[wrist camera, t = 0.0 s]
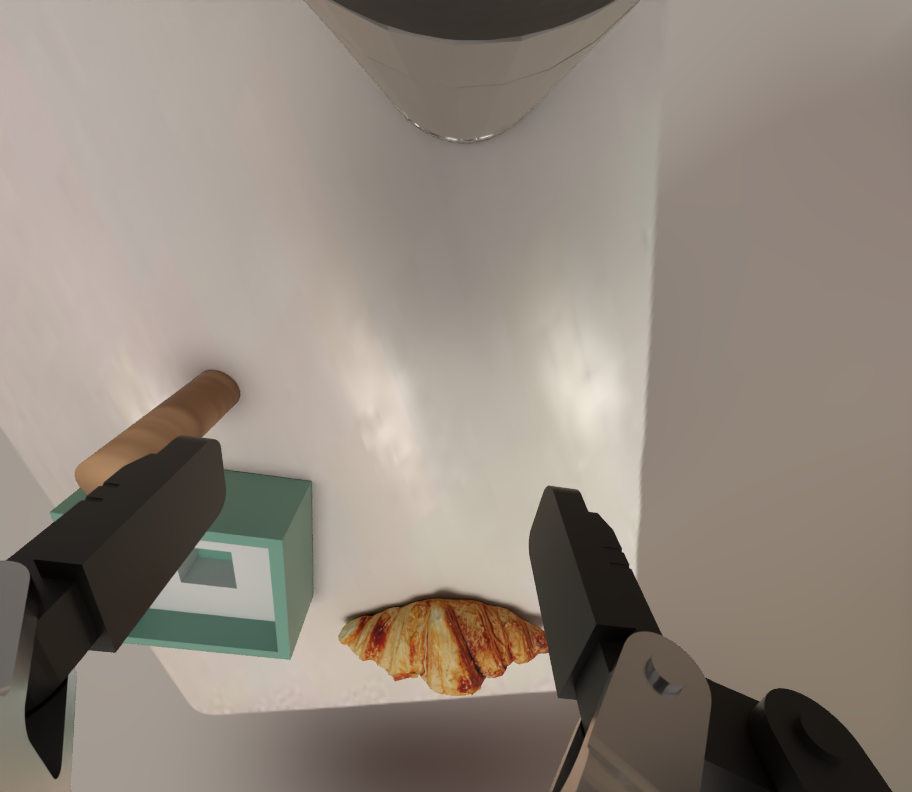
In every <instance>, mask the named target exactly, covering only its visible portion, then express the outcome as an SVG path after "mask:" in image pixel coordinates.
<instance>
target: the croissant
mask: <svg viewBox="0 0 912 792" xmlns="http://www.w3.org/2000/svg"><path fill="white" fill-rule="evenodd" d="M338 637H339V641H340V643H342V644H347V645H348V646H349V648H350V649H351V650H352V651H353V652H354V653H355V654H356V655H358V656H359V659H361V660H362V661H366V660H373V661H375V662H376V663H377V665H379V666H381V667H383V668H385V669H386V671H387V672H388V674H389V675H391V676H392V677H393V679H394V681H398V680H402V679H405V678H409V677H411V678H417V677H418V676H417V675H419V674H420V676H421V677H422V679H423V680H424V681H426V682H427V684H428V685H429V687H430V689H432V690H433V691H435V692H437V693H440V694H446V695H451V696H465V695H467V694H468V695H469V694H471V695H473V694H474V693H475V692H476V691H477V690H480V689H481V685H482V683H483V681H484V679H485V678H486V677H488V678H490V677H491V678H496V677H499V676H502V675H503V674H504V672H505V671H506V668H507V666H509V665H510V664H511V663H512V662H513V661H514V662H516V663H517V664H522V663H527V662H529V661H530V660H532V659H533V658H535V656H536V655H537V654H539V653H549V650H548V645H547V640H546V635H545V631H543V630H542V629H541V628H539V627H537V626H535V625H532V624H530V623H529V622H527V621H525V620H522V619H520V618H519V617H518V616H517V615H516V614H515V613H513V612H511V611H509V610H508V609H505V608H502V607H500V606H491V605H486V604H484V603H482V602H479V601H474V600H463V599H460V600H452V599H441V598H435V599H427V600H423V601H418V602H414V603H411V604H409V605H407V606H404V607H402V608H399V607H394V608H389V609H386V610H385V611H383V612H381V613H377V614H376V615H374V616H366V615H365V616H362V617H359V618H357V619H354V620H352V621H350V622H348V623H347V624H346V625H345V626H344V627H343V628H342V630H341V632H340V634H339V635H338Z"/></svg>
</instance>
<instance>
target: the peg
mask: <svg viewBox="0 0 912 792" xmlns="http://www.w3.org/2000/svg"><path fill="white" fill-rule="evenodd" d="M239 398H240V391H239V388H238V386H237V384H236V382H235V381H234V380H233V379H232V378H231V377H230V376H228V375H226V374H225V373H222V372H219V371H214V370H209V371H205V372H203V373H201V374H200V375H199V376H197V377H196V378H195V379H193V380H192V381H191V382H189V383H188V384H187V385H185V386H184V387H183V388H181V389H180V390H179V391H177V392H176V393H175V394H173V395H172V396H171V397H169V398H168V399H166V400H165V401H164V402H162V403H161V404H160V405H158V406H157V407H156V408H154V409H153V410H152V411H150V412H149V413H148V414H146V415H145V416H144V417H142V418H141V419H140V420H138V421H137V422H136V423H134V424H133V425H132V426H130V427H129V428H128V429H126V430H125V431H124V432H122V433H121V434H120V435H118V436H117V437H115V438H114V439H113V440H111V441H110V442H109V443H107V444H106V445H105V446H103V447H102V448H101V449H99V450H98V451H97V452H95V453H94V454H93V455H91V456H90V457H89V458H87V459H86V460H85V461H83V462H82V463H81V464H79V465H78V466H77V468H76V470H75V478H76V481H77V483H78V485H79V486H80V488H81V489H82V490H83V491H84V492H85V493H86V494H87V495H88V494H90V493H91V492H92V491H93V490H95V489H96V488H97V487H98V486H102V485H103V482H105V481H106V480H107V479H108V478H110V477H111V476H112V475H113V474H114V473H116V472H117V471H118V470H119V469H121V468H122V467H123V466H125V465H127V464H129V463H131V462H133V461H135V460H137V459H140V458H142V457H144V456H146V455H148V454H150V453H153V454H157V453H158V452H159V451H161V450H162V449H163V448H164V447H165V446H166V445H168V444H169V443H170V442H171V441H172V440H174V439H175V438H176V437H178V436H181V435H186V436H193V437H200V438H202V437H203V436H204V435H205V434H206V433H207V432H208V431H209V430H210V429H211V428H212V427H213V426H214V425H215V424H216V423H217V422H218V421H219V420H220V419H221V418H222V417H223V416H224V415H225V414H226V413H227V412H228V411H229V410H230V409H231V408H232V407H233V406H234V405H235V404H236V403H237V402H238V400H239Z"/></svg>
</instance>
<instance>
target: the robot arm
mask: <svg viewBox="0 0 912 792" xmlns="http://www.w3.org/2000/svg"><path fill="white" fill-rule="evenodd" d="M304 1H305V2H306V3H307V4H308V6H309V7H310V8H311V9H312V10H313V11H314V13H315V14H316V15H317V16H318V17H319V18H320V19H321V20H322V21H323V22H324V23H325V25H326V26H327V27H328V28H329V29H330V30H331V32H332V33H333V34H334V35H335V36H336V37H337V39H338V40H339V41H340V42H341V43H342V44H343V46H344V47H345V48H346V49H347V50H348V51H349V53H350V54H351V55H352V56H353V57H354V58H355V60H356V61H357V62H358V63H359V64H360V65H361V67H362V68H363V69H364V70H365V71H366V72H367V74H368V75H369V76H370V77H371V78H372V79H373V80H374V82H375V83H376V84H377V85H378V86H379V87H380V89H381V90H382V91H383V92H384V93H385V94H386V96H387V97H388V98H389V99H390V100H391V102H392V103H393V104H394V105H395V106H396V107H397V108H398V110H399V111H400V112H401V113H402V114H403V115H405V118H406V119H408V120H409V121H410V122H411V123H413V124H414V125H415V126H417V127H418V128H420V129H421V130H423V131H425V132H426V133H428V134H430V135H431V136H434V137H437V138H440V139H443V140H446V141H449V142H461V143H471V142H477V141H482V140H487V139H489V138H492V137H494V136H496V135H498V134H500V133H503V132H505V131H506V130H507V129H509V128H510V127H511V126H513V125H514V124H515V123H517V122H518V121H519V120H521V119H522V118H523V117H524V116H525V115H526V114H527V113H528V112H529V111H530V110H531V109H532V108H533V107H534V106H535V105H536V104H537V103H538V102H539V101H540V100H541V99H542V98H543V97H544V96H545V95H546V94H547V93H548V92H549V91H550V90H551V89H552V88H553V87H554V86H555V85H556V84H557V83H558V82H559V81H560V80H561V79H562V78H563V77H564V76H565V75H566V74H567V73H568V72H569V71H570V70H571V69H572V68H573V67H574V66H575V65H576V64H577V63H578V62H579V61H580V60H581V59H582V58H583V57H584V56H585V55H586V54H587V53H588V52H589V51H590V50H591V49H592V48H593V47H594V46H595V45H596V44H597V43H598V42H599V41H600V40H601V39H602V38H603V37H604V36H605V35H606V34H607V33H608V32H609V31H610V30H611V29H612V28H613V27H614V26H615V25H616V24H617V23H618V22H619V21H620V20H621V19H622V18H623V17H624V16H625V15H626V14H627V13H628V12H629V11H630V10H631V9H632V8H633V7H634V6H635V5H636V4H637V3H638V2H639V0H304ZM225 498H226V484H225V476H224V468H223V460H222V452H221V446H220V443H219V442H218V441H217V440H215V439H208V438H200V437H193V436H186V435H181V436H178V437H176V438H175V439H174V440H172V441H171V442H170V443H169V444H168V445H166V446H165V447H164V448H163V449H162V450H161V451H159V452H158V453H157V454H153V453H150V454H148V455H146V456H144V457H142V458H140V459H137V460H135V461H133V462H131V463H129V464H127V465H125V466H123V467H122V468H121V469H119V470H118V471H117V472H116V473H114V474H113V475H112V476H111V477H110V478H108V479H107V480H106V481H105V482H103V485H102V486H98V487H97V488H96V489H95V490H93V491H92V492H91V493H90V494H88V495H87V496H86V499H85V500H81V501H80V502H78V503H77V504H76V505H75V506H73V507H72V508H71V509H70V510H68V511H67V512H66V513H65V514H63V515H62V516H61V517H60V518H58V519H57V520H56V521H55V522H53V523H52V524H51V525H50V526H49V527H47V528H46V529H45V530H44V531H42V532H41V533H40V534H39V535H37V536H36V537H35V538H34V539H33V540H31V541H30V542H29V543H27V544H26V545H25V546H24V547H22V548H21V549H20V550H19V551H18V552H16V553H15V554H14V555H12V556H11V557H10V558H8V559H7V560H6V561H0V792H71V771H72V754H73V736H74V718H75V701H76V683H77V674H76V670H75V668H74V667H75V666H76V665H77V664H78V662H79V661H80V660H81V659H82V658H83V656H84V655H85V654H86V653H87V651H88V650H93V651H103V652H113V653H115V652H116V651H117V650H118V649H119V647H120V646H121V645H122V643H123V642H124V641H125V639H126V638H127V637H128V635H129V634H130V633H131V631H132V630H133V629H134V627H135V626H136V625H137V623H138V622H139V621H140V619H141V618H142V617H143V615H144V614H145V613H146V612H147V610H148V609H149V608H150V606H151V605H152V604H153V602H154V601H155V600H156V598H157V597H158V596H159V594H160V593H161V592H162V590H163V589H164V588H165V586H166V585H167V584H168V582H169V581H170V580H171V578H172V577H173V576H174V574H175V573H176V572H177V570H178V569H179V568H180V566H181V565H182V564H183V562H184V561H185V560H186V558H187V557H188V556H189V554H190V553H191V552H192V550H193V549H194V548H195V546H196V545H197V544H198V542H199V541H200V540H201V538H202V537H203V536H204V534H205V533H206V532H207V530H208V529H209V528H210V526H211V525H212V524H213V522H214V521H215V520H216V518H217V517H218V516H219V514H220V512H221V510H222V508H223V505H224V502H225ZM529 555H530V560H531V565H532V570H533V575H534V580H535V585H536V590H537V595H538V600H539V605H540V610H541V615H542V620H543V625H544V630H545V635H546V640H547V645H548V650H549V655H550V660H551V665H552V670H553V675H554V680H555V685H556V690H557V695H558V698H564V699H574V700H577V702H578V707H579V711H580V715H581V718H580V719H579V721H578V723H577V725H576V728H575V730H574V733H573V735H572V738H571V740H570V742H569V745H568V748H567V750H566V752H565V755H564V757H563V760H562V762H561V764H560V767H559V769H558V772H557V774H556V776H555V779H554V781H553V784H552V786H551V789H550V791H549V792H892V791H891V789H890V788H889V786H888V785H887V783H886V782H885V780H884V779H883V778H882V776H881V775H880V773H879V772H878V770H877V769H876V767H875V766H874V765H873V763H872V762H871V760H870V759H869V757H868V756H867V754H866V753H865V752H864V750H863V749H862V747H861V746H860V745H859V743H858V742H857V740H856V739H855V738H854V737H853V735H852V734H851V733H850V732H849V731H848V730H847V728H846V727H845V726H844V725H843V724H841V722H840V721H838V719H837V718H835V717H834V716H833V715H832V714H831V713H830V712H829V711H827V710H826V709H825V708H823V707H822V706H820V705H819V704H818V703H816V702H815V701H813V700H812V699H810V698H808V697H806V696H804V695H803V694H800V693H798V692H796V691H792V690H789V689H781V688H778V689H773V690H771V691H770V692H769V693H768V694H767V695H766V696H765V697H764V698H763V699H762V700H761V701H760V702H759V701H757V700H755V699H753V698H750V697H748V696H745V695H743V694H741V693H739V692H736V691H734V690H731V689H729V688H727V687H725V686H722V685H720V684H718V683H715V682H713V681H711V680H709V679H707V678H705V677H704V674H703V673H702V671H701V669H700V668H699V666H698V665H697V664H696V662H695V661H694V660H693V659H692V658H691V657H690V655H689V654H687V652H686V651H684V650H683V649H682V648H681V647H680V646H678V645H677V644H676V643H674V642H673V641H671V640H669V639H668V638H666V637H664V636H663V635H662V633H661V632H660V630H659V628H658V625H657V623H656V621H655V619H654V617H653V615H652V613H651V611H650V608H649V606H648V604H647V602H646V600H645V598H644V595H643V593H642V591H641V589H640V587H639V585H638V582H637V580H636V578H635V576H634V574H633V572H632V569H629V563H628V561H627V559H626V557H625V554H624V553H622V548H621V546H620V544H619V542H618V539H617V537H616V535H615V533H614V531H613V529H612V528H611V527H610V526H609V525H608V524H607V523H606V522H605V521H604V520H603V518H602V517H601V516H600V515H599V514H598V513H593V512H588V510H587V507H586V505H585V502H584V500H583V498H582V495H581V493H580V492H579V490H577V489H570V488H562V487H555V486H547V487H546V488H545V490H544V492H543V495H542V498H541V501H540V504H539V507H538V510H537V513H536V516H535V519H534V522H533V525H532V528H531V531H530V536H529Z"/></svg>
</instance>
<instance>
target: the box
mask: <svg viewBox="0 0 912 792" xmlns="http://www.w3.org/2000/svg"><path fill="white" fill-rule="evenodd" d="M224 476H225V484H226V498H225V502H224V505H223V508H222V510H221V512H220V514H219V516H218V517H217V518H216V520H215V521H214V522H213V524H212V525H211V526H210V528H209V529H208V530H207V532H206V533H205V534H204V536H203V537H202V538H201V540H200V541H199V542H198V544H197V545H196V546H195V548H194V549H193V550H192V552H191V553H190V554H189V556H188V557H187V558H186V560H185V561H184V562H183V564H182V565H181V566H180V568H179V569H178V570H177V572H176V573H175V574H174V576H173V577H172V578H171V580H170V581H169V582H168V584H167V585H166V586H165V588H164V589H163V590H162V592H161V593H160V594H159V596H158V597H157V598H156V600H155V601H154V602H153V604H152V605H151V606H150V608H149V609H148V610H147V612H146V613H145V614H144V615H143V617H142V618H141V619H140V621H139V622H138V623H137V625H136V626H135V627H134V629H133V630H132V631H131V633H130V634H129V635H128V637H127V638H126V639H125V641H124V642H123V643H127V644H137V645H147V646H157V647H167V648H177V649H187V650H197V651H207V652H217V653H227V654H237V655H247V656H257V657H267V658H277V659H287V660H290V659H291V657H292V654H293V651H294V648H295V645H296V643H297V640H298V637H299V634H300V631H301V628H302V626H303V623H304V620H305V617H306V614H307V612H308V609H309V606H310V603H311V600H312V597H313V549H312V482H311V481H305V480H297V479H289V478H282V477H274V476H267V475H259V474H251V473H244V472H236V471H229V470H224ZM86 496H87V494H86V493H85V492H84V491H83V490H82V489H81V488H79V489H78V490H77V491H76V492H74V493H73V494H72V495H71V496H69V497H68V498H67V499H66V500H64V501H63V502H62V503H61V504H59V505H58V506H57V507H56V508H55V509H53V510H52V511H51V512H50V514H51V516H52V518H53V521H54V522H55V521H56V520H57V519H58V518H60V517H61V516H62V515H63V514H65V513H66V512H67V511H68V510H70V509H71V508H72V507H73V506H75V505H76V504H77V503H78V502H80V501H81V500H85V499H86Z"/></svg>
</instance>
